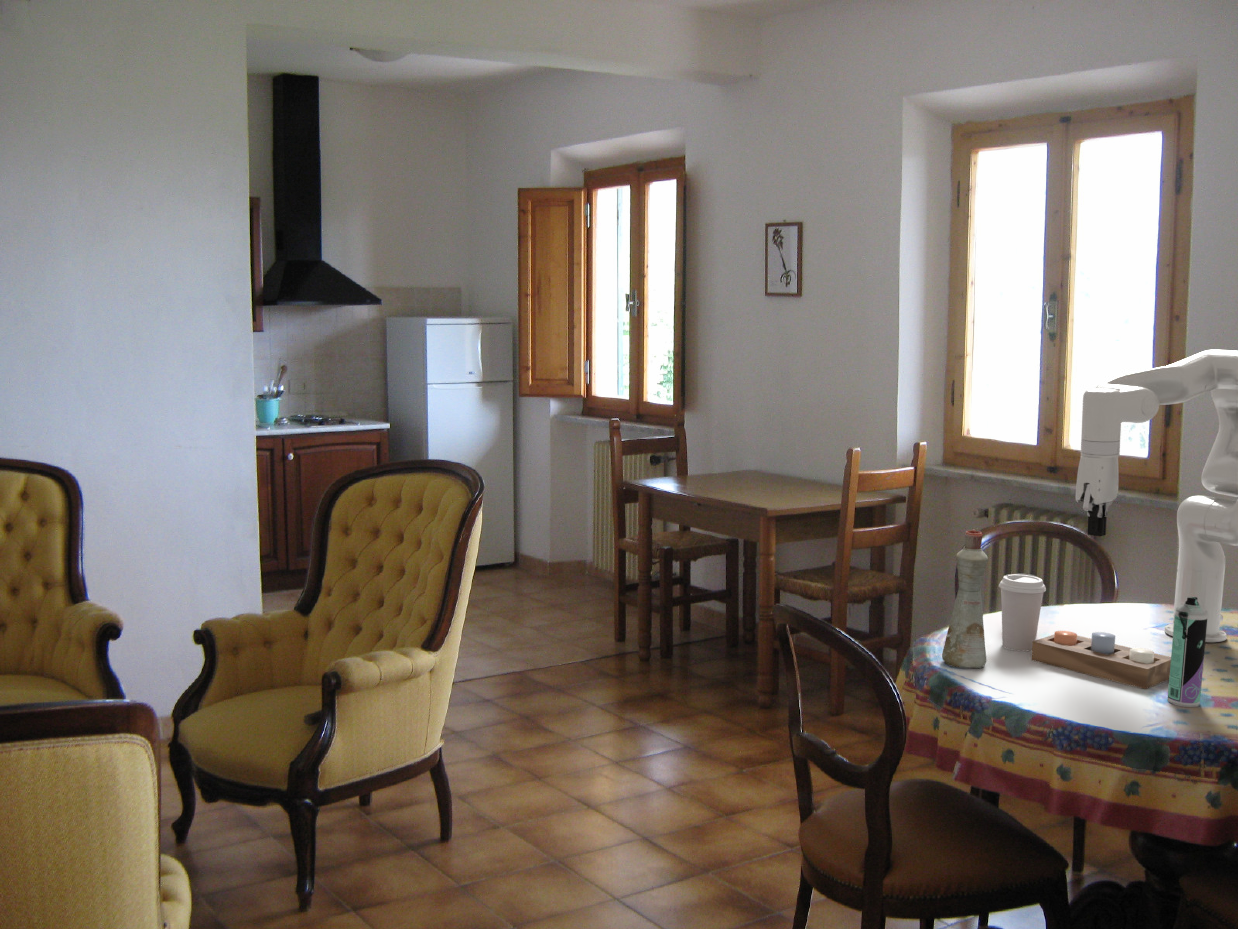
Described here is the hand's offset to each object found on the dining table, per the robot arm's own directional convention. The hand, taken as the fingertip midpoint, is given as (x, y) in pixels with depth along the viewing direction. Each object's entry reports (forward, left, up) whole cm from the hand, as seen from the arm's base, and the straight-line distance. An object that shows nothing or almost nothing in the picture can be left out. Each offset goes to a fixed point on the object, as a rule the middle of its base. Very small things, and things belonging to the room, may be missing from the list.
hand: (1096, 534), depth 254 cm
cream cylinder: (+10, +16, -25) cm, 31 cm away
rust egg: (+10, 0, -25) cm, 26 cm away
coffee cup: (+9, -11, -26) cm, 29 cm away
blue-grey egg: (+10, +8, -23) cm, 26 cm away
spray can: (+18, +28, -26) cm, 42 cm away
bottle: (+30, -11, -26) cm, 41 cm away
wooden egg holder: (+10, +8, -25) cm, 28 cm away
